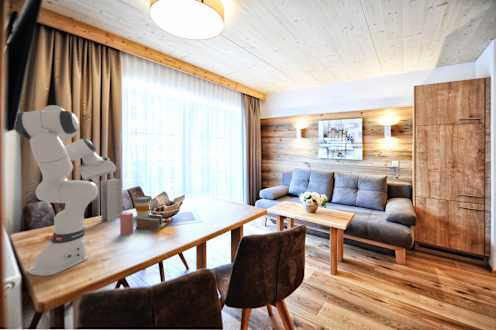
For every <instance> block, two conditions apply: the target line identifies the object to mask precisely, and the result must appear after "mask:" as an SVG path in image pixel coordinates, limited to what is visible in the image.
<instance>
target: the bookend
mask: <svg viewBox="0 0 496 330" xmlns="http://www.w3.org/2000/svg"><path fill="white" fill-rule="evenodd" d="M147 218H150V219H159V224H162V223H163V215H161V214H153V213H150V214H149V215H148V217H147Z"/></svg>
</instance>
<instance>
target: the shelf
mask: <svg viewBox="0 0 496 330" xmlns="http://www.w3.org/2000/svg"><path fill="white" fill-rule="evenodd" d="M135 219H136V226H135V230H140V231H148V232H156V233H157V232H159V231H160V230H162V229H164V228H165V227H167V226H168V223H167V222H162V224H159V219H150V218H148V217H144V218H139V217H136V218H135Z"/></svg>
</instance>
